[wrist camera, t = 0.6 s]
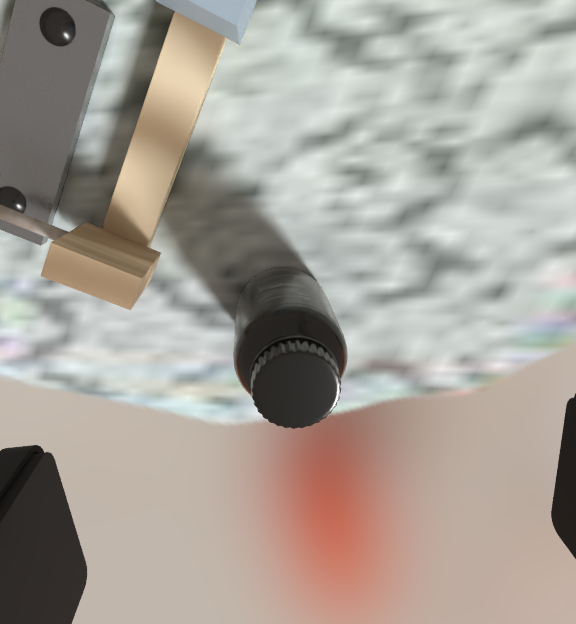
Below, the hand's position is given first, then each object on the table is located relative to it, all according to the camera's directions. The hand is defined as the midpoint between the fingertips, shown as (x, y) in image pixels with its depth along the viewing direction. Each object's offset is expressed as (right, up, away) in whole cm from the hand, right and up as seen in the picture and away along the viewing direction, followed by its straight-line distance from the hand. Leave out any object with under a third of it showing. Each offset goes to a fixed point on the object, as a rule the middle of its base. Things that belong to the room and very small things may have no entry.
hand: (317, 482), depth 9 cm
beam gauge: (-10, +16, +23) cm, 30 cm away
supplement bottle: (-1, +3, +28) cm, 28 cm away
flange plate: (-16, +15, +22) cm, 32 cm away
